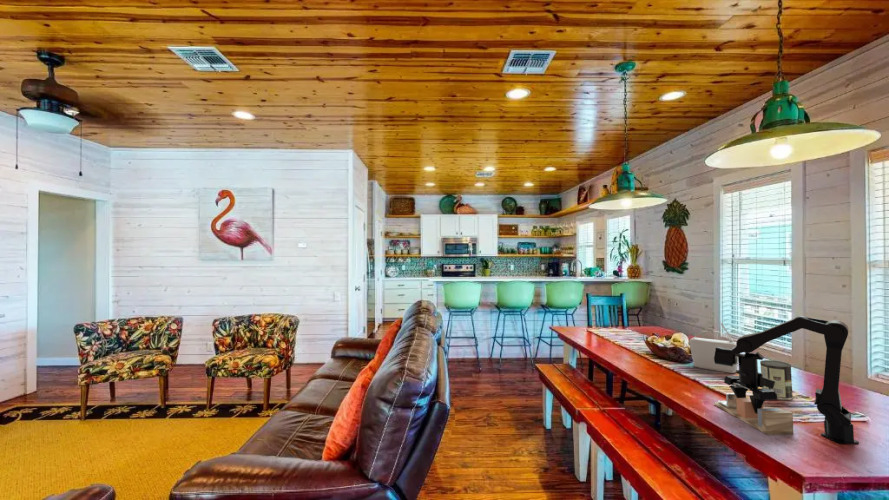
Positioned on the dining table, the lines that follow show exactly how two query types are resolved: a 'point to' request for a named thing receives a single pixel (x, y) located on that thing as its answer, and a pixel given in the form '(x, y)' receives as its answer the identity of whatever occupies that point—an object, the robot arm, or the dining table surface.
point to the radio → (710, 353)
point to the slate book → (761, 414)
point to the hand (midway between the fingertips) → (750, 409)
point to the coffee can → (778, 377)
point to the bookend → (729, 401)
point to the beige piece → (767, 420)
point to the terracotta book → (746, 408)
